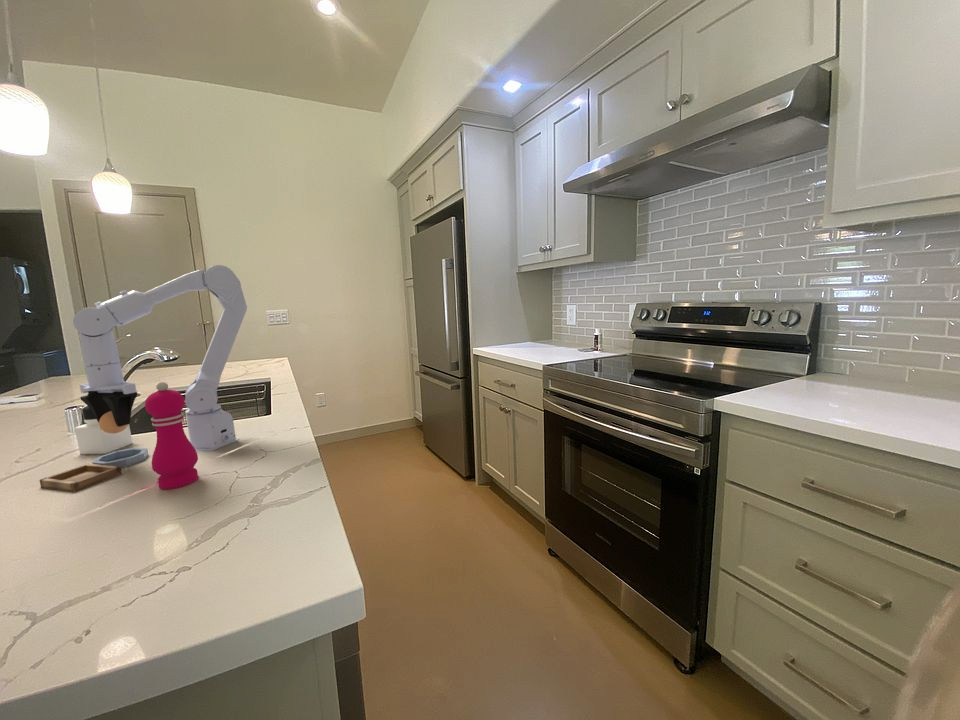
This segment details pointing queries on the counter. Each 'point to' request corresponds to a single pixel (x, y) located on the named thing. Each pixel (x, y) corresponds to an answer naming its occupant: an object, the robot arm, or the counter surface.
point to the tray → (80, 477)
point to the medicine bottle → (99, 436)
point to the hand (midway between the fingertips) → (115, 424)
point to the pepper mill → (171, 439)
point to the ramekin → (122, 457)
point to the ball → (110, 424)
